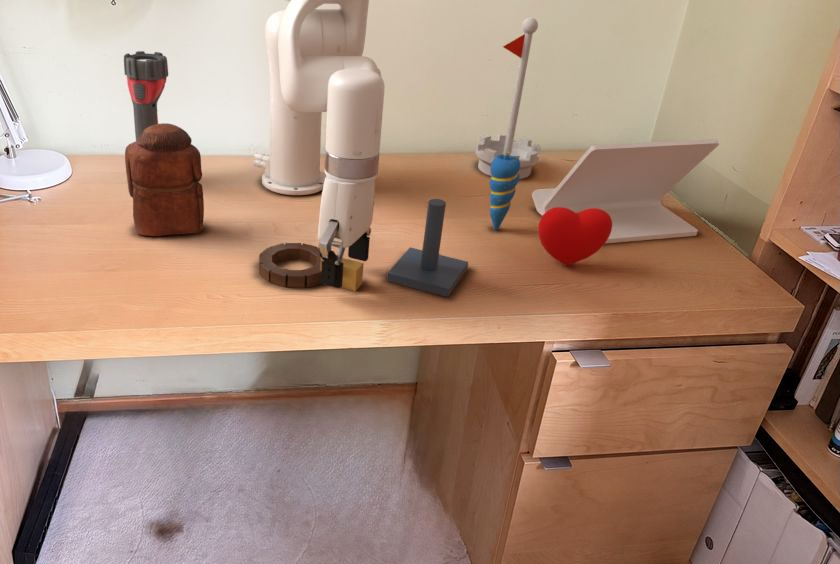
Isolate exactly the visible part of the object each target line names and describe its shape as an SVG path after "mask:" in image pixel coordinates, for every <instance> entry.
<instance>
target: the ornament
mask: <svg viewBox="0 0 840 564" xmlns="http://www.w3.org/2000/svg"><path fill="white" fill-rule="evenodd" d="M506 149H507V148H506ZM519 169H520V161H519V159H518V158H516V157H514V156H511V155H510V152H509V151H505V153H504V154H503V155H498V156H496V157H495V158H494V159H493V161H492V163H491V167H490V171H491V176H490V178H489V188H490V193H489V202H490V207H489V216H490V219H491V222H492V227H493V230H494V231H498V230H499V229H500V228H501V225H502V223H503V221H504V220H505V218H506V216H507V214H508V212H509V210H510V208H511V204H512V203H511V202H512V201H513V198H514V196H515V193H516V187H517V185H518V184H519V181H520V179H519V178H520V175H519V172H518V171H519Z"/></svg>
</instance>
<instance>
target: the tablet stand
mask: <svg viewBox="0 0 840 564" xmlns="http://www.w3.org/2000/svg"><path fill="white" fill-rule="evenodd" d="M719 145H720V144H719V141H718V139H717V138H712V139H711V138H710V139H709V138H708V139H690V140H672V141H671V140H670V141H652V142H651V141H649V142H631V143H611V144H594V145H591V146H589V147H588V148H587V150H586V151H585V152H584V153H583V154H582V156H581V157H580V158H579V159H578V160H577V162H576V163H575V164H574V165H573V166H572V168H571V169H570V170H569V172H568V173H567V174H566V175H565V176H564V178H563V179H562V180H561V181H560V182H559V184H558V185H557V186H556V187H555V188H554V187H553V188H551V187H550V188H539V189H538V188H537V189H534V191H533V192H532V193H531V197H532V201H533V203H534V206H535V210H536V212H537V213H538V214H540V215H541V217H542V216H543V215H544V213H545V212H546V211H548V210H549V209H552V208H555V207H563V208H567V209H570V210H572V211H573V212H575V213H578V212H580V211H583V210H586V209H591V208H597V209H601V210H604V211H605V212H607V213H608V214H609V216H610V217H611V220H612V230H611V233H610V236H609V238H608V239H607V241H606V242H605V244H615V243H626V242H627V243H628V242H640V241H650V240H662V239H672V238H674V239H675V238H684V237H685V238H686V237H695V236H697V234H698V232H699V230H698V229H697V228H696V227H695V226H693V225H691V224H690V223H689V222H687V221H685V220H684V219H683V218H681V217H680V216H679V215H677V214H675V213H674V212H672V211H671V210H670V209H668V208H667V207H665V206H664V205H662V199H663V198H664V197H665V196H666V195H667V194H668V193H669V192H670V191H671V190H672V189H673V188H674V187H675V186H677V185H678V183H680V182H681V181H682V180H683V179H684V178H685V177H686V176H687V175H689V173H691V172H692V171H693V170H694V169H695V168H696V167H697V166H698V165H699V164H700V163H701V162H702V161H703V160H705V159H706V158H707V157H708V156H709V155H710V154H711V153H712V152H713V151H714V150H715V149H716V148H717V147H718V146H719Z"/></svg>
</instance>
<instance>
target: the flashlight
mask: <svg viewBox="0 0 840 564" xmlns="http://www.w3.org/2000/svg"><path fill="white" fill-rule="evenodd" d="M123 70H124V75H125V76H126V83H127V88H128V92H129V95H130V99H131V102H132V107H133V121H134V123H133V125H134V134H135V141H136V140H137V138H138V136H139V135H140V134H141V133H142V132H143V131H144V130H145V129H146V128H148V127H150V126H152V125H155V124H159V117H158V115H159V114H158V101H159V100H160V98H161V96H162V93H163V91H164V90H165V86H166V82H167V77H169V64H168V58H167V56H166V55H164V54H163V53H162V52H159V51H155V52H154V53H146V52H145V51H143V50H138V51H135V53H132V54H130V52H129V53H125V54H124V55H123Z"/></svg>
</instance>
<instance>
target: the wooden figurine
mask: <svg viewBox="0 0 840 564" xmlns="http://www.w3.org/2000/svg"><path fill="white" fill-rule="evenodd" d="M192 141H193V140H192V137H191V136H190V135H189V133H188V132H187V131H186V130H184V129H183V128H182V127H180V126H178V125H175V124H172V123H168V122H167V123H158V124H155V125H152V126H150V127H148V128H146V129H145V130H144V131H143V132H142V133H141V134H140V135H139V136H138V138H137V140H136V139H135V141H133V142H131V143H129V144H128V145H126V147H125V150H124V162H125V172H126V181H127V189H128V193H129V196H130V197H131V198H132V218H133V223H134V229H135V233H136V234H138V235H141V236H149V237H164V236H173V235H187V234H189V235H191V234H199V233H201V232H202V231H203V227H204V218H205V216H204V215H205V201H204V189H203V184H201V183H200V181H201V180H202V177H203V171H202V157H201V152H200V150H199V149H198V147H196V146H195V145H194V144H192Z"/></svg>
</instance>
